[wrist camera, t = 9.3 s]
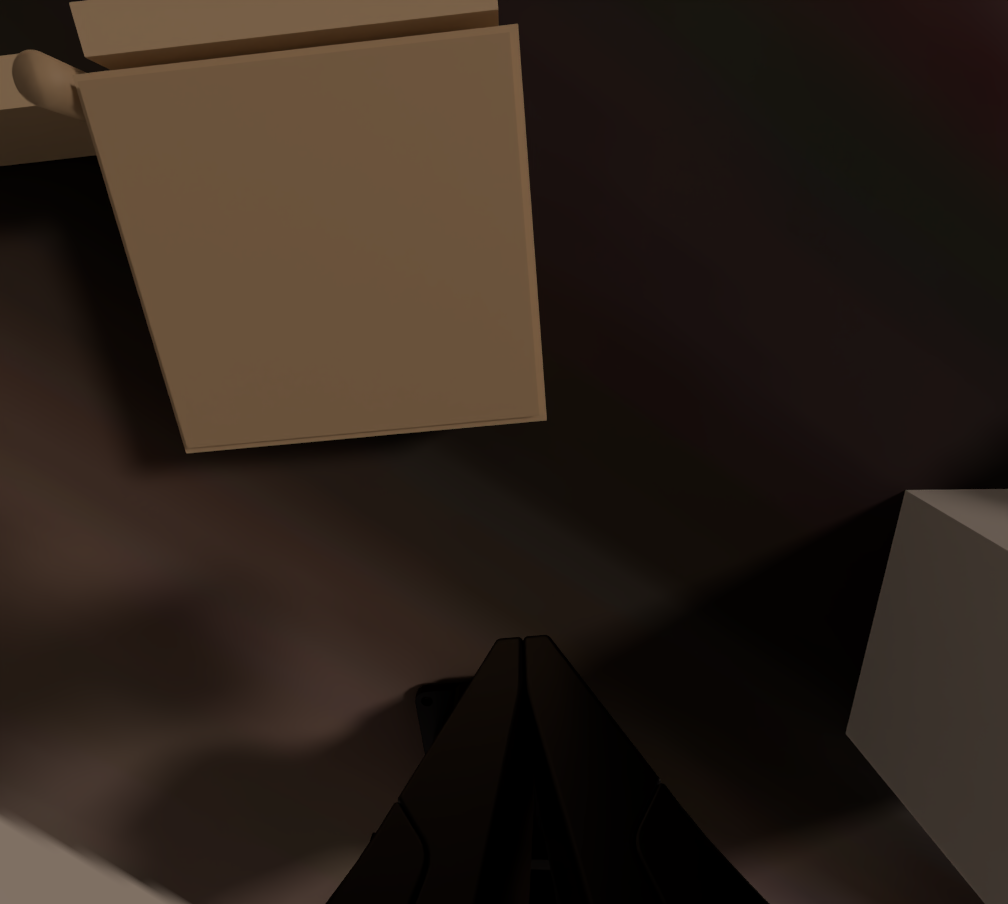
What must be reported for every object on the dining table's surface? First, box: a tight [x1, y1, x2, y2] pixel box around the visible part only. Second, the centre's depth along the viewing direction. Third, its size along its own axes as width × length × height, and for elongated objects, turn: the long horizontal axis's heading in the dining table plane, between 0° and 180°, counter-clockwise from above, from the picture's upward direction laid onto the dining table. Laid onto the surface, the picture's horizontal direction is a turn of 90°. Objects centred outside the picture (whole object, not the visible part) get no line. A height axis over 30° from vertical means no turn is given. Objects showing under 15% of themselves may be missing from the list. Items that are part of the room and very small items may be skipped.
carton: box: [69, 0, 547, 453], centre depth 16 cm, size 10×10×5 cm
